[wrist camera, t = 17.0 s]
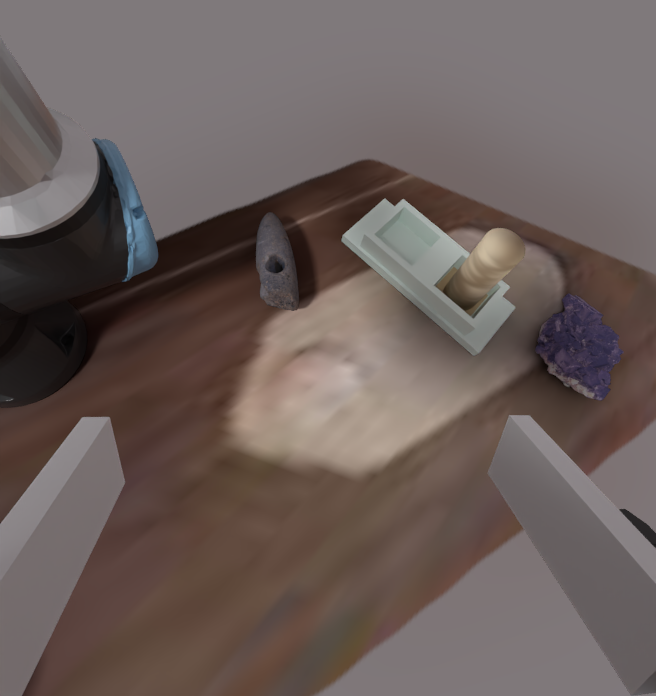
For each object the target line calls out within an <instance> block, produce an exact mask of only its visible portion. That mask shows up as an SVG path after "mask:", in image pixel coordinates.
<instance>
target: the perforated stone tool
mask: <svg viewBox="0 0 656 696" xmlns="http://www.w3.org/2000/svg"><path fill="white" fill-rule="evenodd" d="M256 268H257V270H258V272H259V274H260V281H261V289H260V297H261V298H262V299H263V300H265V301H266V303H267V304H268V305H269V306H273V307H277V308H282V309H285V310H292V311H294V310H297V308H298V304H299V291H298V281H297V273H296V266H295V261H294V256H293V252H292V248H291V245H290V242H289V239H288V236H287V234H286V231H285V229H284V227H283V225H282V223H281V221H280V220H279V218H278V217H277V216H276V215H275V214H274V213H272V212H269V213H267V214H266V215H265V216H264V217H263V219H262V221H261V223H260V226H259V229H258V232H257V242H256Z"/></svg>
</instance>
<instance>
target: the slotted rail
mask: <svg viewBox="0 0 656 696" xmlns="http://www.w3.org/2000/svg"><path fill="white" fill-rule="evenodd" d="M341 241H342V242H343V243H344V244H345V245H346V246H347V247H349V248H350V249H351V250H352V251H353V252H354V253H356V254H357V255H358V256H359V257H360V258H361V259H362V260H364V261H365V262H366V263H367V264H368V265H369V266H371V267H372V268H373V269H374V270H375V271H376V272H377V273H379V274H380V275H381V276H382V277H383V278H384V279H386V280H387V281H388V282H389V283H390V284H391V285H392V286H394V287H395V288H396V289H397V290H398V291H399V292H401V293H402V294H403V295H404V296H405V297H406V298H407V299H409V300H410V301H411V302H412V303H413V304H414V305H416V306H417V307H418V308H419V309H420V310H421V311H422V312H424V313H425V314H426V315H427V316H428V317H429V318H431V319H432V320H433V321H434V322H435V323H436V324H437V325H439V326H440V327H441V328H442V329H443V330H444V331H446V332H447V333H448V334H449V335H450V336H451V337H452V338H454V339H455V340H456V341H457V342H458V343H459V344H461V345H462V346H463V347H464V348H465V349H466V350H467V351H469V352H470V353H471V354H472V355H473V356H475V355H477V354H478V353H480V351H481V350H482V349H483V348H484V346H485V345H486V344H487V343H488V342H489V340H490V339H491V338H492V337H493V335H494V334H495V333H496V332H497V330H498V329H499V328H500V327H501V325H502V324H503V323H504V322H505V320H506V319H507V318H508V317H509V315H510V314H511V313H512V312H513V310H514V309H515V308H516V307H515V306H514V305H512V304H511V303H510V302H509V301H508V300H506V299H505V298H504V297H503V295H504V294H505V293H506V291H507V290H508V289H509V288H510V286H508V285H507V284H506V283H505V282H504V281H502V280H500V281H499V282H498V283H497V284H496V285H495V286H494V287H493V288H492V289H491V290H490V291H489V292H488V293H487V294H486V295H485V296H484V297H483V298H482V299H481V300H480V301H479V302H478V303H476V304H475V305H474V306H473V307H472V308H471V309H469V310H467V311H464V310H462V309H461V308H460V307H459V306H458V305H457V304H455V303H454V302H453V301H452V300H451V299H450V298H448V297H447V296H446V295H445V294H444V293H443V289H444V287H445V285H446V284H447V283H448V282H449V280H450V279H451V278H452V277H453V275H454V274H455V273H456V272H457V270H458V269H459V268H460V266H461V265H462V264H463V263H464V261H465V260H466V259H467V258H468V256H469V255H470V253H468V252H467V251H466V250H465V249H464V248H462V247H461V246H460V245H459V244H457V243H456V242H455V241H454V240H453V239H451V238H450V237H449V236H448V235H447V234H445V233H444V232H443V231H442V230H441V229H439V228H438V227H437V226H436V225H434V224H433V223H432V222H431V221H430V220H428V219H427V218H426V217H425V216H424V215H422V214H421V213H420V212H419V211H417V210H416V209H415V208H414V207H413V206H411V205H410V204H409V203H408V202H407V201H405V200H404V199H403V200H401V201H400V202H399V203H398V204H397V205H396V206H393V205H392V204H391V203H390V202H389V201H387V200H386V199H383V200H382V201H381V202H380V203H379V204H378V205H377V206H375V207H374V208H373V209H372V210H371V211H370V212H369V213H368V214H366V215H365V216H364V217H363V218H362V219H361V220H360V221H358V222H357V223H356V224H355V225H354V226H353V227H352V228H350V229H349V230H348V231H347V232H346V233H345V234H344V235H343V236H342V240H341Z"/></svg>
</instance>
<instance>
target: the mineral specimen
mask: <svg viewBox="0 0 656 696" xmlns="http://www.w3.org/2000/svg"><path fill="white" fill-rule="evenodd" d="M562 301H563V304H564V308H565V310H564V312H562V313H558V314H553V316H552V318H549V319H548V320H547V321H546V322H545V323H543V324H542V326H541V329H540V333H539V335H540V336H539V338H538V339H537V341H538V345H537V346H536V349H535V350H536V353H538V354H540V356H541V357H542V358H543V359H544V362H545V363H546V364H547V365H548V369H547V371H548V372H549V374H553V375H555V376H556V377H558V378H559V379H560V380H561V381H563V384H564V385H565V386H567V387H570V386H571V387H572V388H573V389H574V390H575V391H577V392H579V393H581V394H584V395H585V396H586V397H588V398H593V399H595V400H601V401H602V400H603V399H604V398H605V396H606V395H607V394H608V392H609V391H610V389H609V388H608V385H610V384H611V383H610V381H611V379H610V374H609V373H608V372H609V371H611V370H612V368H613V367H614V364H616V363H619V361H620V360H621V358H620V355H621V354H622V353H623V351H622V350H621V349H619V348H618V346H619V345H618V343H617V341H618V338H619V335H617V334H615V333H614V331H613V330H612V329H611V327H608V326H606V325H602V321H601V317H602V316H603V315H602V314H601V313H600V312H598V311H597V310H596V309H595V308H593V307H591V306H590V305H589V304H587V303H586V302H585V301H584V300H583V299H581V298H580V297H578V296H577V295H575V296H572V295H571V294H567V295H566V296H565V297H564V298H563V299H562Z"/></svg>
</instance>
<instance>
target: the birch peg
mask: <svg viewBox="0 0 656 696" xmlns="http://www.w3.org/2000/svg"><path fill="white" fill-rule="evenodd" d="M524 256H525V245H524V243H523V241H522V240H521V238H520V237H519V236H518V235H517V234H515V233H514V232H512V231H510V230H508V229H504V228H495V229H492V230H490V231H489V232H488V233H487V234H486V235H485V236H484V237H483V239H482V240H481V241H480V242H479V244H478V245H477V246H476V248H475V249H474V250H473V251H472V253H471V254H470V255H469V256H468V258H467V259H466V260H465V261H464V263H463V264H462V265H461V266H460V268H459V269H458V270H457V272H456V273H455V274H454V275H453V277H452V278H451V279H450V280H449V282H448V283H447V284H446V285H445V287H444V289H443V293H444V294H445V295H446V296H447V297H448V298H450V299H451V300H452V301H453V302H454V303H455V304H457V305H458V306H459V307H460V308H461V309H462V310H464V311H467V310H469V309H471V308H472V307H473V306H474V305H475V304H476V303H478V302H479V301H480V300H481V299H482V298H483V297H484V296H485V295H486V294H487V293H488V292H489V291H490V290H491V289H492V288H493V287H494V286H495V285H496V284H497V283H498V282H499V281H500V280H502V279H503V278H504V277H505V276H506V275H507V274H508V273H509V272H510V271H511V270H512V269H513V268H514V267H515V266H516V265H517V264H518V263H519V262H520V261H521V260H522V259H523V258H524Z"/></svg>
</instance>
